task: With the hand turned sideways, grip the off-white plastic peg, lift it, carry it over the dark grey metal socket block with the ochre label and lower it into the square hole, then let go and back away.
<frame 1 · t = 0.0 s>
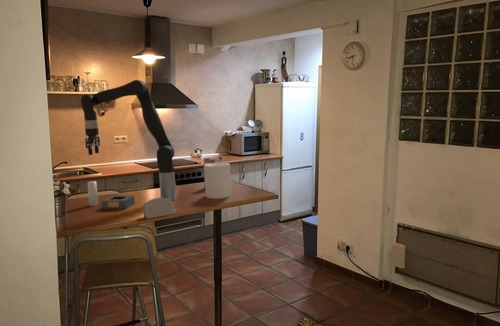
hand: (93, 154, 249), 29 cm above the counter, tool pointing down, fingers open, 8 cm apart
hinge: (159, 215, 215), on the counter
socket block: (118, 206, 236), on the counter
cracker box: (214, 186, 287), on the counter
peg: (93, 205, 241), on the counter
canister: (218, 196, 256), on the counter
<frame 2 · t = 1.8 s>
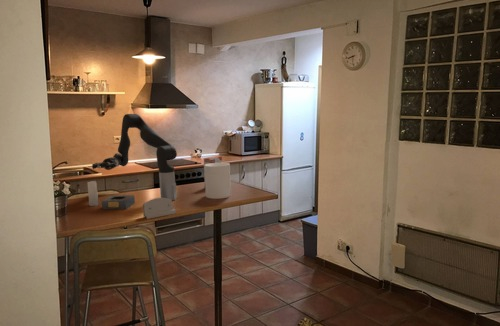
hand: (99, 167, 250), 21 cm above the counter, tool horizontal, fingers open, 8 cm apart
nothing on the counter moved.
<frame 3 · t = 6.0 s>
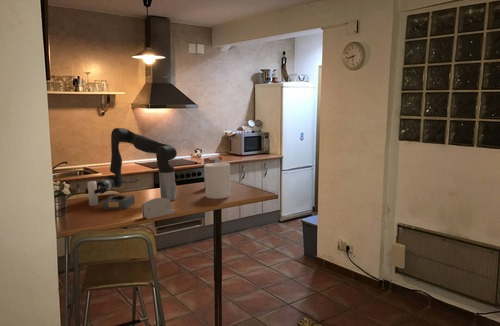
hand: (90, 192, 238), 8 cm above the counter, tool horizontal, fingers closed on peg, 5 cm apart
peg: (93, 205, 241), on the counter, touching gripper
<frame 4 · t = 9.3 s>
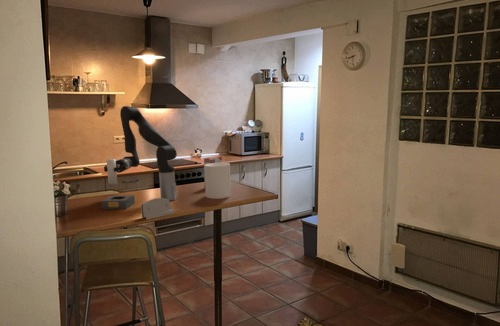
hand: (110, 169, 231), 22 cm above the counter, tool horizontal, fingers closed on peg, 5 cm apart
peg: (113, 183, 235), point 13 cm above the counter, touching gripper
when the fingers open (10 cm above the counter, at t = 12.9 s): peg drops 1 cm, resting on socket block.
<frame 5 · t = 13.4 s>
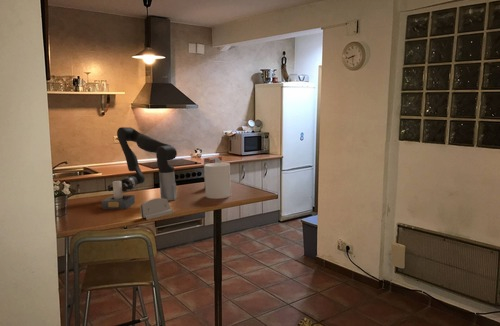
hand: (116, 189, 233), 10 cm above the counter, tool horizontal, fingers open, 8 cm apart
peg: (118, 205, 236), point 1 cm above the counter, touching socket block
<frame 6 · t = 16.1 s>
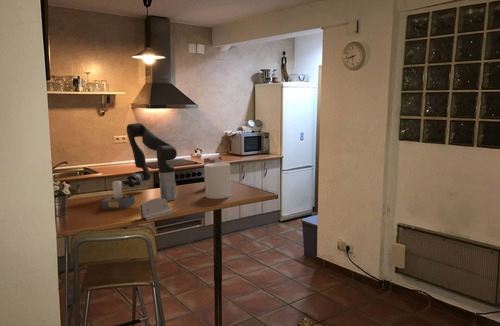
hand: (124, 185, 245), 10 cm above the counter, tool horizontal, fingers open, 8 cm apart
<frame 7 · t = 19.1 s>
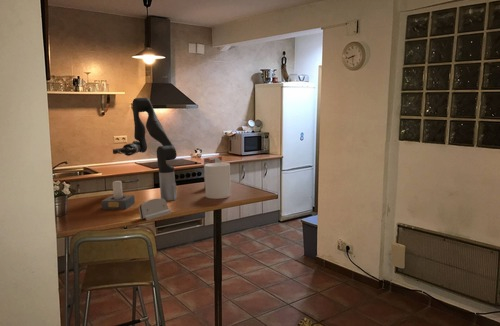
hand: (120, 152, 248), 30 cm above the counter, tool horizontal, fingers open, 8 cm apart
at the end: peg 0.1 cm off-centre on the socket block, point 0.6 cm above the socket block's base; peg tilted 0°; the gripper is holding nothing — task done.
